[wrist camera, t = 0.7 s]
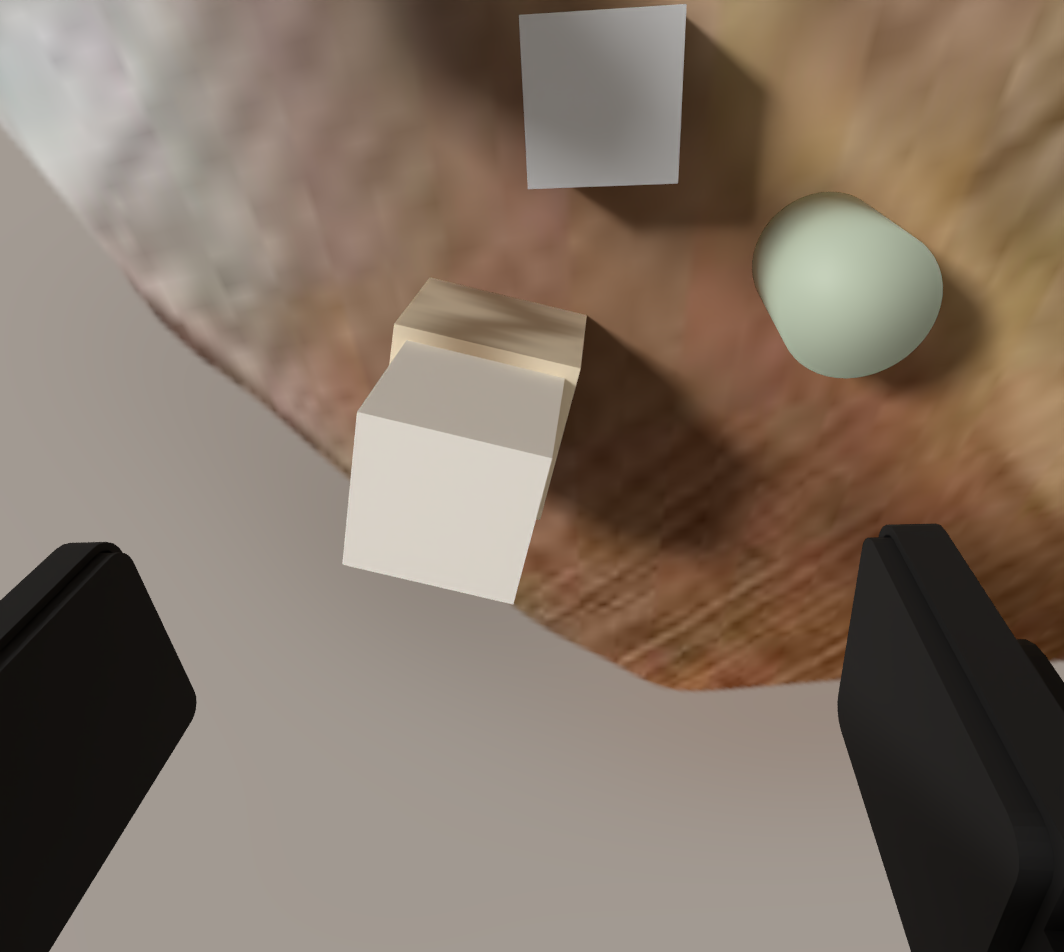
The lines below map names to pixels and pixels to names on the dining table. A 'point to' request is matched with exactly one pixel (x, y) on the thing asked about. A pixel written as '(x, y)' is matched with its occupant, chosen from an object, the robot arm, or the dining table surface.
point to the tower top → (451, 470)
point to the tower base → (498, 336)
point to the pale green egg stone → (845, 285)
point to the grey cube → (603, 96)
